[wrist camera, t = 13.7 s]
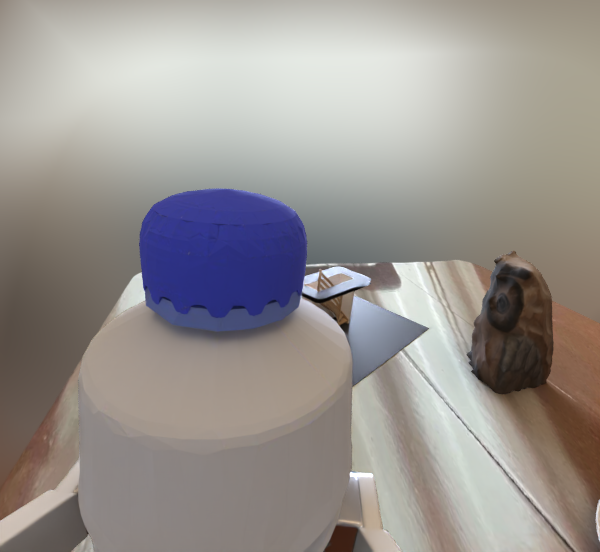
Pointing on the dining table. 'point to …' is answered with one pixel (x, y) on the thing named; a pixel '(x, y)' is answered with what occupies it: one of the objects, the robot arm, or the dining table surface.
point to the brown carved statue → (513, 328)
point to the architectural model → (359, 319)
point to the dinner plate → (598, 520)
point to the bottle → (216, 391)
